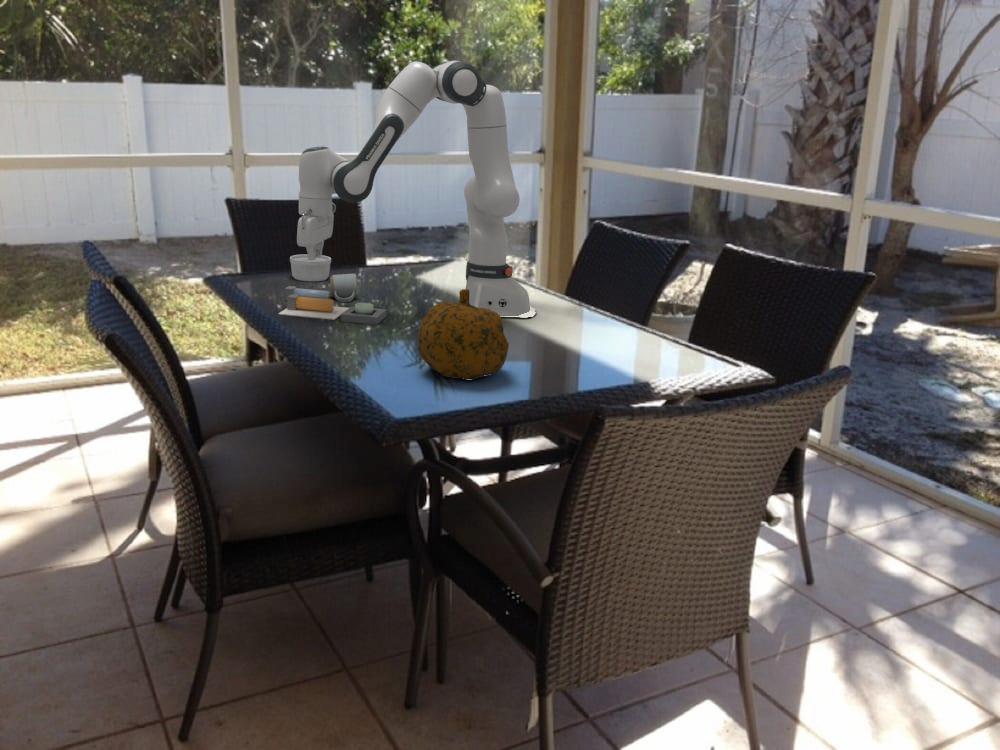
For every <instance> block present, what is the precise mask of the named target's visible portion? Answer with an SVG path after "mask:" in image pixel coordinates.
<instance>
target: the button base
mask: <svg viewBox="0 0 1000 750" xmlns="http://www.w3.org/2000/svg"><path fill="white" fill-rule="evenodd" d="M348 308H349V309H347V310H346V311H345V312H343V313H342V314H341V316H340V321H341V322H342V323H343V322H344V323H345V322H346V323H356V324H368V325H378V324H380V323H381V322H382V321H383V320H384V319H385V318H386V317H387V309H383V308H374V307H373V314H369V315H364V314H356V313H355V306H350V307H348Z"/></svg>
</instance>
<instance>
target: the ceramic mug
mask: <svg viewBox="0 0 1000 750" xmlns="http://www.w3.org/2000/svg"><path fill="white" fill-rule="evenodd" d="M357 279H358V278H357V274H356V273H344V274H343V273H342V274H333V275H331V276H330V277H329V290H330V291H329V292H330V297H331V298H333V299H335V300H336V301H338V302H340V303H350V302H352V301H353V300H354V299H357V298H358V280H357Z"/></svg>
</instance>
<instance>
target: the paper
mask: <svg viewBox="0 0 1000 750" xmlns="http://www.w3.org/2000/svg"><path fill="white" fill-rule="evenodd" d="M349 308H350V307H344V306H343V307H342V306H335V305H334V310H333V312H324V311H313V310H302V309H297V310H287V308H284V309H283V310H281V311H280V312H278V315H281V316H291V317H299V318H312V319H321V320H333V321H334V320H337V319H338V318H339V317H341V314H342V313H343V312H345V311H346V310H347V309H349Z"/></svg>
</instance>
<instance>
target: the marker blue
mask: <svg viewBox="0 0 1000 750" xmlns="http://www.w3.org/2000/svg"><path fill="white" fill-rule="evenodd" d="M291 294H294V295H300V297H308V298H319V299H330V298H331V292H330V291H329V290H319V289H307V288H298V286H293V285H288V286H287V287H285V288H284V301H287V297H288V296H290V295H291ZM330 300H331V299H330Z"/></svg>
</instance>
